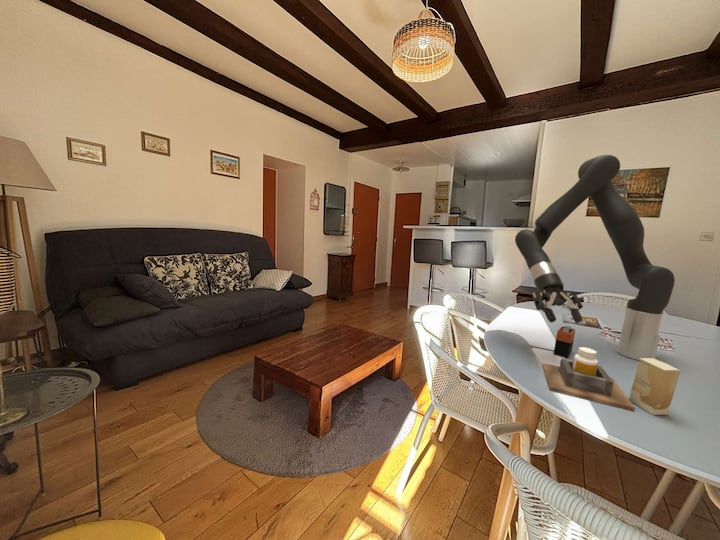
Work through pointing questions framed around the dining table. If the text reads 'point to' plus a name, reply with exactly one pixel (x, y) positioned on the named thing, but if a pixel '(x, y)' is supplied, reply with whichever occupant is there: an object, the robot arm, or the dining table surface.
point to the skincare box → (654, 386)
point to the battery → (564, 341)
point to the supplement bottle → (585, 361)
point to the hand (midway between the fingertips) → (566, 321)
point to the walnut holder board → (585, 385)
